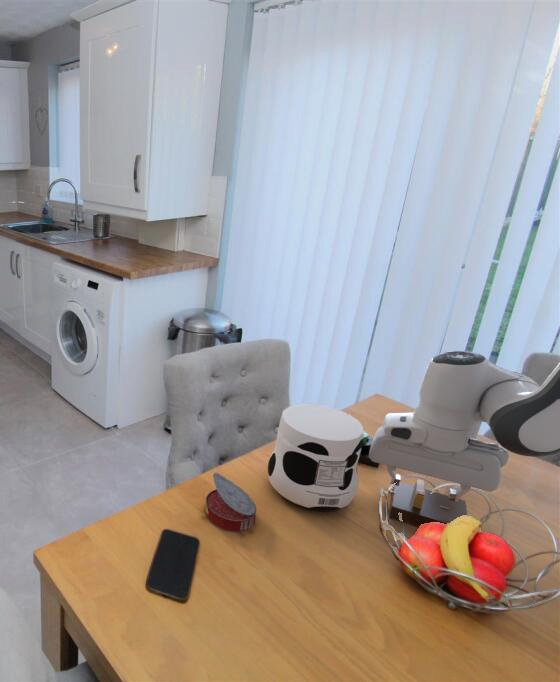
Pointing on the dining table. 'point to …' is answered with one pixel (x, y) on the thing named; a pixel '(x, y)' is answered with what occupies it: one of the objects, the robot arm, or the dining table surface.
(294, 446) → the milk container
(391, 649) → the dining table surface
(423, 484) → the lock knob
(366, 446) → the alarm box
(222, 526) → the canned food
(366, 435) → the alarm button
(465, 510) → the lock plate
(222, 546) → the dining table surface
